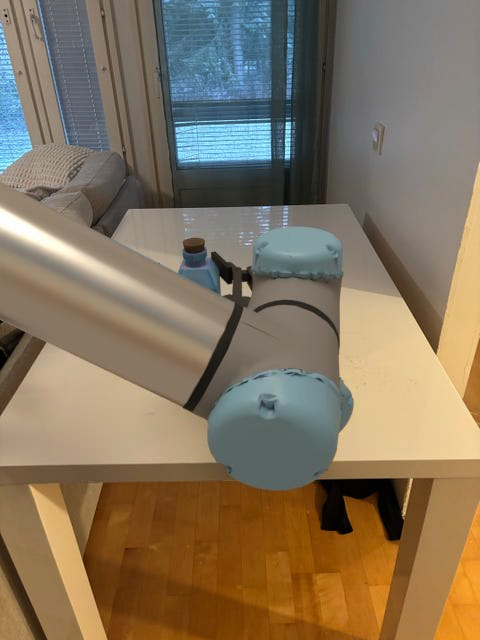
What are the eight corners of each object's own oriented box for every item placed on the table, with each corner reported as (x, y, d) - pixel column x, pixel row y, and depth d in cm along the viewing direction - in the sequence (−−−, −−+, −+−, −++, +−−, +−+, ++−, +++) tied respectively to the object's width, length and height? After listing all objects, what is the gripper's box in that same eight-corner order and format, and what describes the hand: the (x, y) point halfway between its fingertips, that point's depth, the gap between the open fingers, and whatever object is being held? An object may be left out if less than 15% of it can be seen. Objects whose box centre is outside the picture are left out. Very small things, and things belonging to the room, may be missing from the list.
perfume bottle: (219, 326, 68) (214, 249, 62) (177, 326, 68) (168, 250, 62) (221, 305, 73) (217, 233, 67) (182, 306, 74) (174, 234, 67)
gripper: (165, 389, 52) (121, 302, 70) (325, 342, 59) (248, 273, 77) (157, 333, 48) (113, 255, 66) (329, 289, 55) (247, 230, 73)
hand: (186, 265), depth 71 cm, fingers closed on perfume bottle, 8 cm apart
